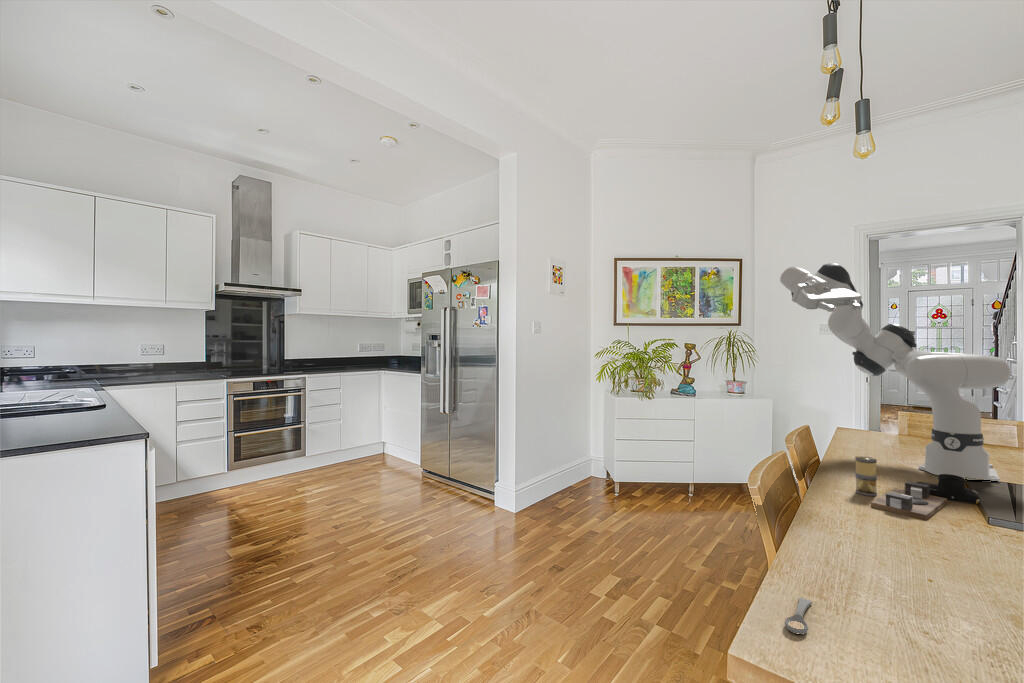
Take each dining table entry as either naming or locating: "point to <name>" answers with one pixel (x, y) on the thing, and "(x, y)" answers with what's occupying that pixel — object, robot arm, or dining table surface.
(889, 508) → the board
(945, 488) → the film camera
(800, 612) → the grey bottle opener
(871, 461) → the yellow and grey cylinder
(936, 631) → the dining table surface
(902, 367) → the robot arm
